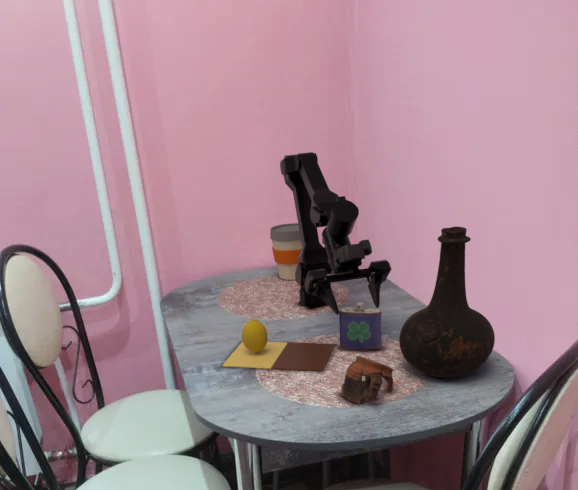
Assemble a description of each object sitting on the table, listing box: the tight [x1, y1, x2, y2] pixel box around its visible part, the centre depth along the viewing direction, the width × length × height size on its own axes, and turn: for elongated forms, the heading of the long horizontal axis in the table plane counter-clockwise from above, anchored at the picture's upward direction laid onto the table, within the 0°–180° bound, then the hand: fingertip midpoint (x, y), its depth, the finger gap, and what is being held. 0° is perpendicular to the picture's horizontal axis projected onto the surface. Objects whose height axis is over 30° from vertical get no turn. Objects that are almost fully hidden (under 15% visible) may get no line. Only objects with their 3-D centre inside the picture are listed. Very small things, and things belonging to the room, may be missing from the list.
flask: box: [338, 301, 382, 352], centre depth 131 cm, size 9×3×11 cm, turn 74°
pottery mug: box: [340, 355, 394, 405], centre depth 112 cm, size 12×10×8 cm
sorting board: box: [221, 340, 336, 372], centre depth 133 cm, size 14×22×1 cm, turn 75°
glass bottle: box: [398, 226, 496, 379], centre depth 115 cm, size 18×18×28 cm
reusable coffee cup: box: [269, 222, 302, 281], centre depth 186 cm, size 13×12×15 cm
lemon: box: [241, 318, 268, 353], centre depth 133 cm, size 6×6×8 cm
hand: (358, 310), depth 131 cm, fingers open, 9 cm apart
